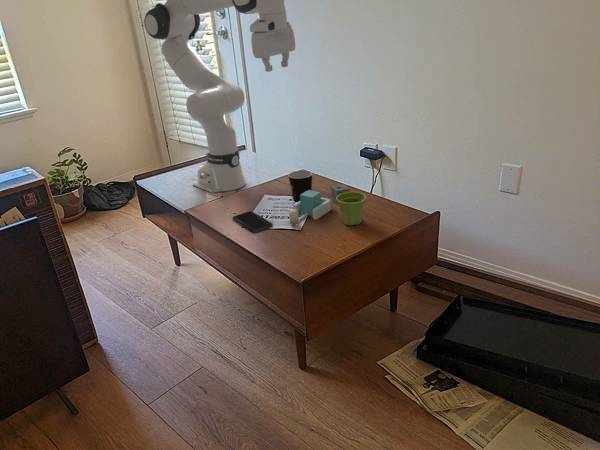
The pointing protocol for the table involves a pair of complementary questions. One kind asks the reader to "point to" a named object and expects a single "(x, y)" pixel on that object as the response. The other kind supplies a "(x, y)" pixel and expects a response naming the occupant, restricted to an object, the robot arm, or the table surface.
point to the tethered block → (305, 206)
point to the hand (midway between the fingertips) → (277, 69)
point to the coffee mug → (300, 183)
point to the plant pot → (351, 207)
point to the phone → (252, 222)
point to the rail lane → (319, 210)
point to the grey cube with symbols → (338, 191)
